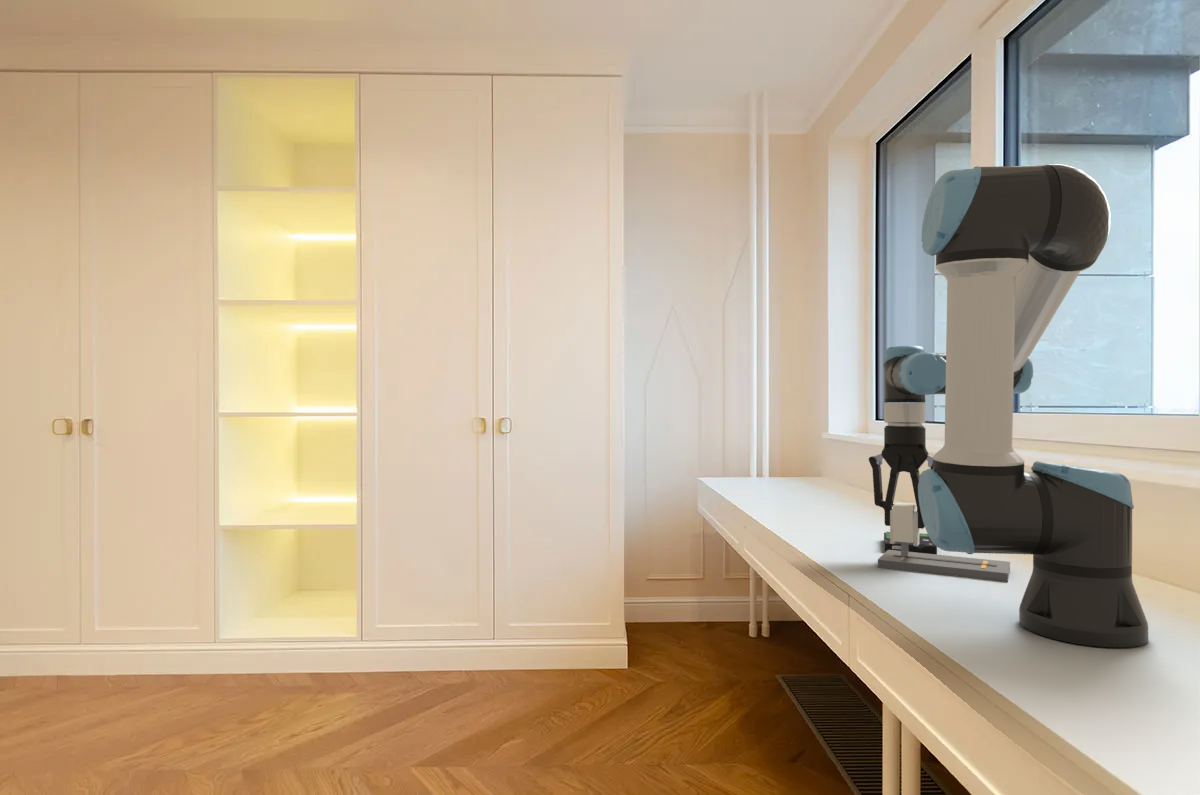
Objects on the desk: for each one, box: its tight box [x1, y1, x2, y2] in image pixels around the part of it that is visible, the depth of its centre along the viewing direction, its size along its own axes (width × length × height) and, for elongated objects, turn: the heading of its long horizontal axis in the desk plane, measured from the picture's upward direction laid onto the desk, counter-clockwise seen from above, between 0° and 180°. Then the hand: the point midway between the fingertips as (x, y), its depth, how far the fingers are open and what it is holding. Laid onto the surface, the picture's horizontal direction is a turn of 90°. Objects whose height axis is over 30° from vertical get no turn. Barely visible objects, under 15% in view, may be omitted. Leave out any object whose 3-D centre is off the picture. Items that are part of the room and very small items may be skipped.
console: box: [877, 550, 1011, 583], centre depth 142 cm, size 11×22×2 cm, turn 59°
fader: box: [892, 501, 917, 556], centre depth 145 cm, size 5×4×10 cm
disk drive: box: [883, 531, 938, 555], centre depth 161 cm, size 10×3×15 cm
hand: (904, 543), depth 145 cm, fingers closed on fader, 3 cm apart
